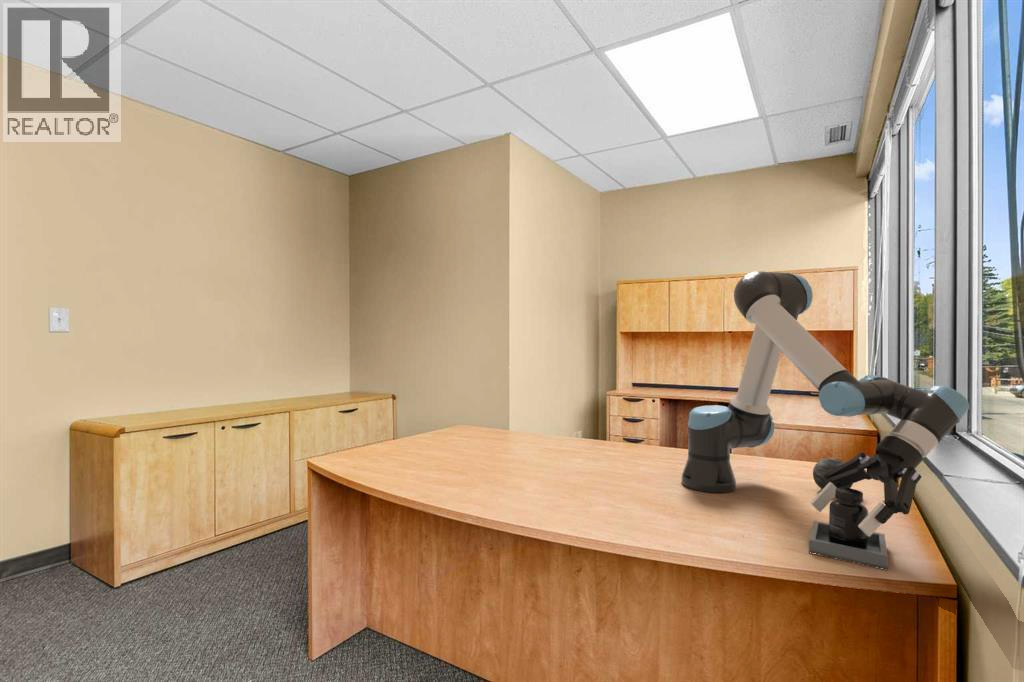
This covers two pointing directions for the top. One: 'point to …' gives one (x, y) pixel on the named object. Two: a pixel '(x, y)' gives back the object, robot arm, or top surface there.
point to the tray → (849, 547)
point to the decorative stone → (826, 471)
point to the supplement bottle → (847, 518)
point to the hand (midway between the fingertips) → (837, 518)
